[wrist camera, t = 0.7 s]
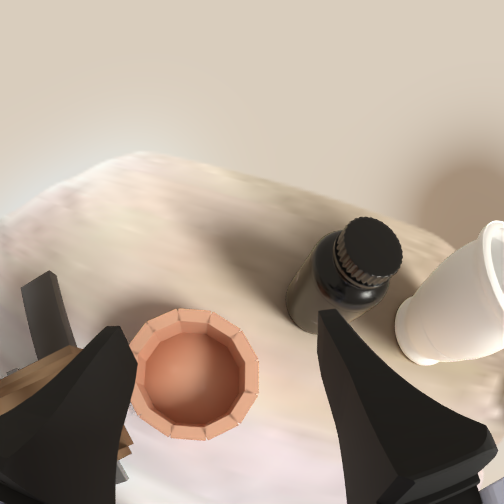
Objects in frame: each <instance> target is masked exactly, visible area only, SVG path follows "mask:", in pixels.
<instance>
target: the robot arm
mask: <svg viewBox="0 0 504 504" xmlns="http://www.w3.org/2000/svg"><path fill="white" fill-rule="evenodd" d="M317 354H318V360H319V366H320V371H321V377H322V380H323V384H324V387H325V391H326V394H327V397H328V401H329V404H330V408H331V411H332V414H333V418H334V421H335V425H336V429H337V433H338V438H339V444H340V450H341V456H342V463H343V471H344V478H345V487H346V497H347V504H504V477H503V478H501V479H499V480H498V481H496V482H494V483H492V484H490V485H489V486H487V487H485V488H484V489H482V490H480V491H478V488H477V485H478V484H479V483H480V479H479V476H478V472H479V471H481V470H482V469H483V468H484V467H485V466H486V465H487V464H488V463H489V462H490V461H491V460H492V459H493V458H494V457H495V456H496V454H497V452H498V449H497V446H496V444H495V442H494V439H493V437H492V435H491V433H490V431H489V430H488V428H487V426H486V425H484V424H481V423H479V422H477V421H474V420H472V419H470V418H467V417H465V416H462V415H460V414H458V413H456V412H454V411H452V410H451V409H449V408H447V407H445V406H443V405H441V404H440V403H438V402H436V401H435V400H433V399H432V398H430V397H429V396H427V395H425V394H424V393H422V392H421V391H419V390H418V389H417V388H415V387H414V386H412V385H411V384H410V383H408V382H407V381H406V380H405V379H403V378H402V377H401V376H400V375H398V374H397V373H396V372H395V371H394V370H393V369H391V368H390V367H389V366H388V365H387V364H386V363H385V362H384V361H383V360H382V359H381V358H380V357H379V356H378V355H377V354H376V353H375V352H374V351H373V350H372V349H371V348H370V347H369V346H368V345H367V344H366V343H365V342H364V341H363V340H362V339H361V338H360V336H359V335H358V334H357V333H356V332H355V331H354V330H353V328H352V327H351V326H350V325H349V324H348V322H347V321H346V320H345V319H344V317H343V316H342V315H341V314H340V312H339V311H338V310H337V309H336V308H335V309H327V310H320V311H318V339H317ZM137 366H138V362H137V360H136V358H135V356H134V354H133V352H132V350H131V348H130V346H129V344H128V342H127V340H126V338H125V336H124V334H123V331H122V329H121V327H120V326H107V327H106V328H104V329H103V330H102V331H101V332H100V333H99V334H98V335H97V336H96V337H95V338H94V339H93V340H92V341H91V342H90V343H89V344H88V345H87V346H86V347H85V348H84V349H83V350H82V351H81V352H80V353H79V354H78V355H77V356H76V357H75V358H74V359H73V360H72V361H71V362H70V363H69V364H68V365H67V366H66V367H65V368H63V369H62V370H61V371H60V372H59V373H58V374H57V375H56V376H55V377H54V378H53V379H52V380H51V381H49V382H48V383H47V384H46V385H45V386H44V387H42V388H41V389H40V390H39V391H37V392H36V393H35V394H33V395H32V396H31V397H29V398H28V399H26V400H25V401H23V402H22V403H20V404H19V405H17V406H16V407H14V408H13V409H11V410H9V411H8V412H6V413H4V414H2V415H0V504H116V503H115V484H116V467H117V457H118V449H119V442H120V437H121V432H122V429H123V425H124V422H125V418H126V414H127V411H128V407H129V404H130V401H131V397H132V393H133V390H134V386H135V380H136V374H137Z"/></svg>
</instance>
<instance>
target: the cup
mask: <svg viewBox="0 0 504 504" xmlns="http://www.w3.org/2000/svg"><path fill="white" fill-rule="evenodd" d="M147 322H148V324H149V325H148V324H147V323H145V324H144V325H143V326H142V328H141V329H140V330H139V332H138V333H137V334H136V336H135V337H134V339H133V340H132V341H131V343H130V344H129V346H130V348H131V350H132V352H133V354H134V356H135V358H136V360H137V362H138V366H137V374H136V380H135V386H134V390H133V393H132V397H131V403H132V405H133V407H134V409H135V411H136V413H137V415H140V418H141V419H142V420H144V421H145V422H147V423H148V424H150V425H151V426H152V427H154V428H155V429H157V430H158V431H160V432H161V433H163V434H164V435H166V436H167V437H169V436H170V435H171V438H177V439H189V440H203V441H206V437H207V439H208V440H210V439H212V438H214V437H216V436H218V435H220V434H222V433H224V432H226V431H228V430H230V429H232V428H234V427H236V426H238V423H241V422H242V420H243V419H244V417H245V416H246V414H247V412H248V411H249V409H250V408H251V406H252V404H253V403H254V401H255V400H256V398H257V396H258V395H256V394H258V393H259V361H256V360H257V359H258V358H257V356H256V354H255V352H254V351H253V349H252V347H251V345H250V344H249V342H248V340H247V338H246V337H245V335H244V333H243V331H240V328H238V327H237V326H235V325H233V324H232V323H230V322H229V321H227V320H225V319H224V318H222V317H221V316H219V315H217V314H216V313H214V312H212V314H211V311H206V310H194V309H182V308H179V309H178V311H177V309H174V310H172V311H170V312H167V313H165V314H163V315H160V316H158V317H156V318H153V319H151V320H149V321H147ZM239 331H240V332H239ZM237 422H238V423H237Z"/></svg>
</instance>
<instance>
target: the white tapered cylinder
mask: <svg viewBox="0 0 504 504" xmlns="http://www.w3.org/2000/svg"><path fill="white" fill-rule="evenodd" d="M395 333H396V338H397V341H398V344H399V346H400V348H401V350H402V351H403V352H404V354H405V355H406V356H407V357H408V358H409V359H410V360H412V361H413V362H415V363H417V364H420V365H433V364H435V363H437V362H439V361H441V362H455V361H461V360H470V359H477V358H481V357H485V356H488V355H490V354H493V353H495V352H497V351H499V350H501V349H503V348H504V222H502V221H493V222H491V223H489V224H488V225H486V226H485V227H484V228H483V229H482V231H481V232H480V234H479V236H478V239H476V240H475V241H472V242H470V243H468V244H466V245H465V246H463V247H461V248H460V249H458V250H457V251H455V252H454V253H452V254H451V255H450V256H449V257H447V258H446V259H445V260H444V261H443V262H442V263H441V264H440V265H439V266H438V267H437V268H436V269H435V270H434V271H433V272H432V273H431V275H430V276H429V277H428V278H427V279H426V280H425V281H424V282H423V283H422V284H421V286H420V287H419V288H418V289H417V291H416V292H415V294H414V296H412V297H409V298H408V299H406V300H405V301H404V302H403V303H402V304H401V305H400V307H399V309H398V311H397V314H396V318H395Z"/></svg>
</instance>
